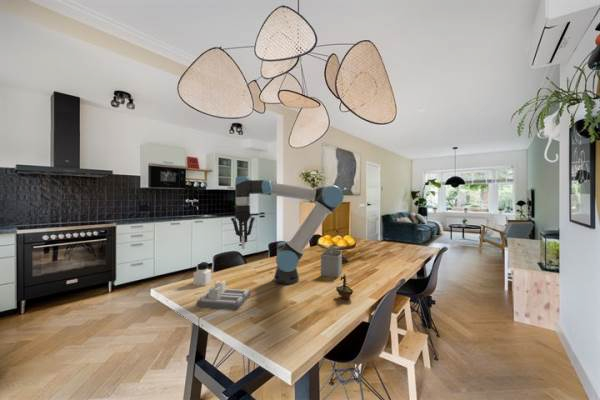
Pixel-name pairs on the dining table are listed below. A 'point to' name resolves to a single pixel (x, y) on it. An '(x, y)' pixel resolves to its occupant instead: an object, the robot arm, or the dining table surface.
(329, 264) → the planter
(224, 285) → the white taped box
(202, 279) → the medicine bottle
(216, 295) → the fader
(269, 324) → the dining table surface
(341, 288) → the figurine
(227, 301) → the grey compartment tray
